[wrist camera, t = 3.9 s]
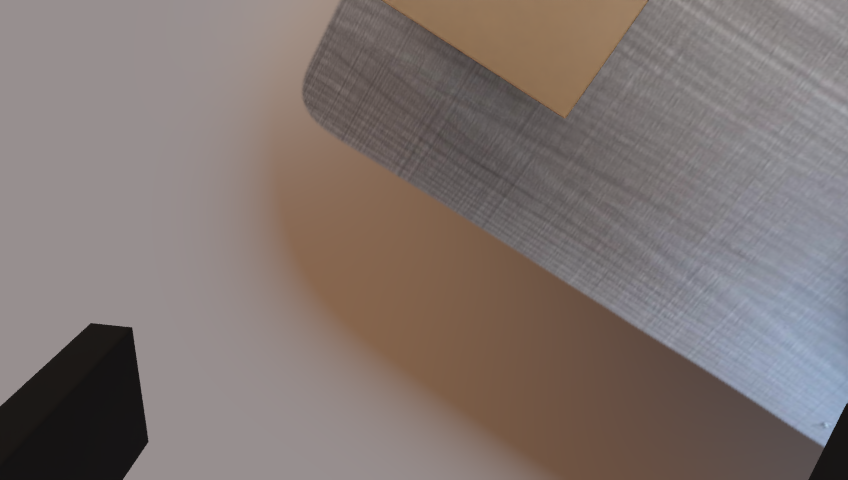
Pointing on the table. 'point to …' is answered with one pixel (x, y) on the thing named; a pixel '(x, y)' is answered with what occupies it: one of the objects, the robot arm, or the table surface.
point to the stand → (531, 39)
